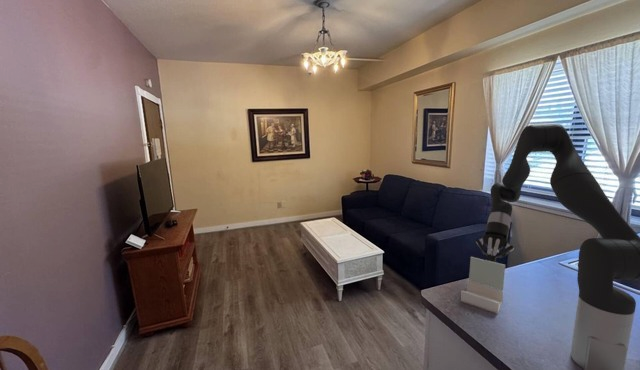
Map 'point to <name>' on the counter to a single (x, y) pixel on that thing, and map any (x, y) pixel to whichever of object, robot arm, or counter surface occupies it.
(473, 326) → the counter surface
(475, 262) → the cover
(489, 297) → the cream card holder
